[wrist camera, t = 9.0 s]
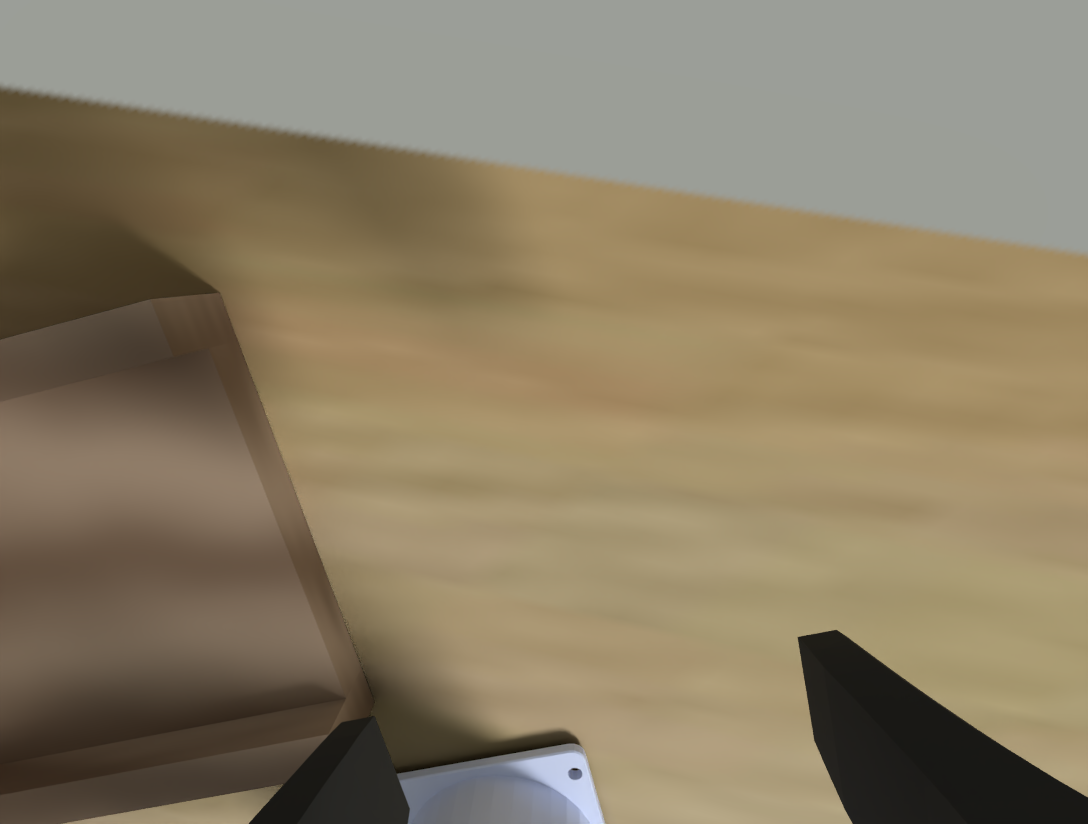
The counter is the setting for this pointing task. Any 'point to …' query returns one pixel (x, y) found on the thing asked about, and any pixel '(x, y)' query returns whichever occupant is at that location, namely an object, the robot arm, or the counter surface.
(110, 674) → the tray
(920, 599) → the counter surface
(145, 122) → the counter surface
